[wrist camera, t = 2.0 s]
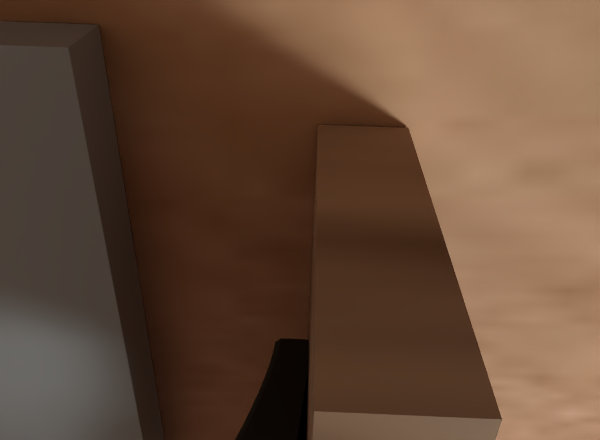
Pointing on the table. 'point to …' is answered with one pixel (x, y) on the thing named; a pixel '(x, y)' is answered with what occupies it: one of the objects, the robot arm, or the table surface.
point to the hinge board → (67, 248)
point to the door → (387, 302)
